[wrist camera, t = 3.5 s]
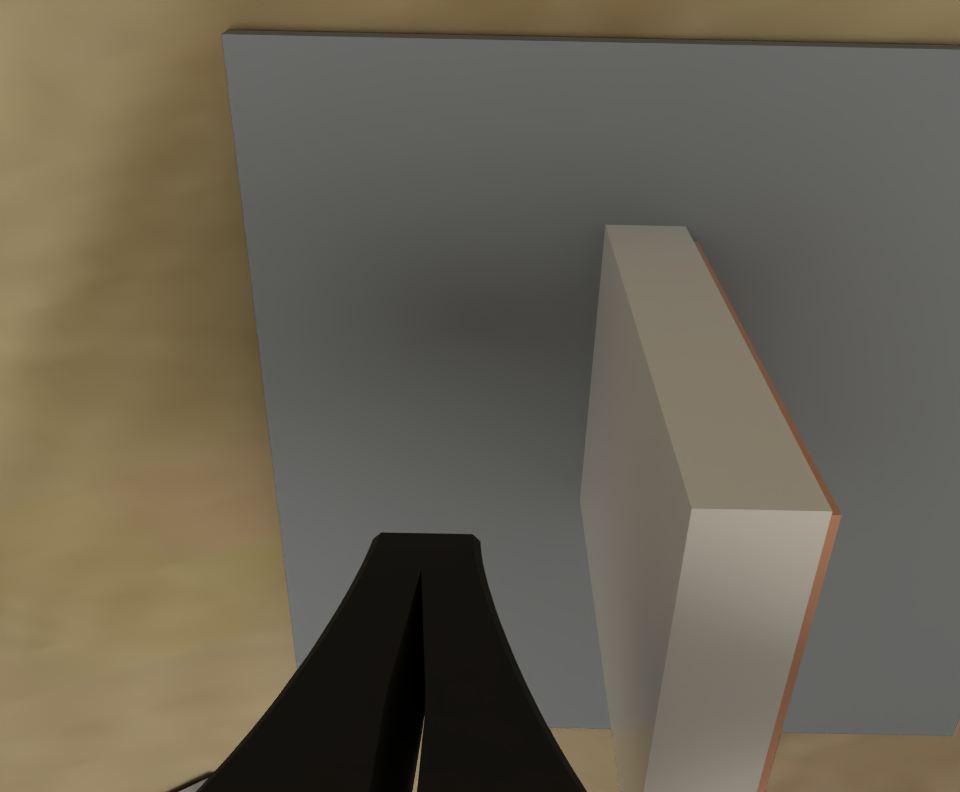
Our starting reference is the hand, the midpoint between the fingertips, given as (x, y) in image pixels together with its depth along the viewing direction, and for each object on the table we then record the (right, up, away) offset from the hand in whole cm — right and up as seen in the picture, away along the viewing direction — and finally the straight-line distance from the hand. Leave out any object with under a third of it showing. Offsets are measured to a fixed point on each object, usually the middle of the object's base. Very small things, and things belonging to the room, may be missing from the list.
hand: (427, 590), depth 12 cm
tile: (+4, +3, +5) cm, 7 cm away
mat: (+4, +1, +7) cm, 8 cm away
